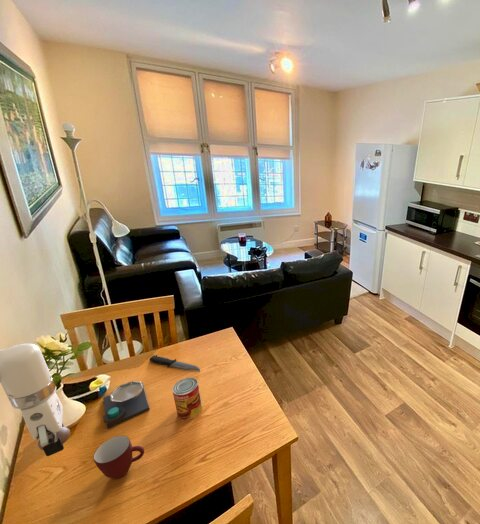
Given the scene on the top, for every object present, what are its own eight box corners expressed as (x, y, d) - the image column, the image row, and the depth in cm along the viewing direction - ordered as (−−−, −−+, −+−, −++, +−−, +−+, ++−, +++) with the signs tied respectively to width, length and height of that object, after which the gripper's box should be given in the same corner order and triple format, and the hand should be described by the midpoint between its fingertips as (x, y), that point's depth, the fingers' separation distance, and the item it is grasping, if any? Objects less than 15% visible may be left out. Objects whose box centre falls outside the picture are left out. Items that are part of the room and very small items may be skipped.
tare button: (109, 419, 97) (108, 415, 96) (108, 413, 98) (107, 410, 98) (119, 415, 98) (118, 411, 98) (119, 409, 100) (117, 405, 100)
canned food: (172, 414, 103) (166, 389, 98) (192, 398, 109) (187, 374, 105) (188, 423, 100) (182, 398, 95) (207, 406, 106) (202, 382, 102)
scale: (106, 430, 96) (104, 424, 94) (102, 400, 106) (100, 394, 105) (150, 410, 103) (148, 404, 102) (143, 384, 114) (141, 379, 113)
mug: (146, 448, 91) (139, 426, 87) (148, 470, 85) (141, 447, 81) (103, 467, 85) (94, 444, 81) (102, 492, 79) (92, 469, 75)
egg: (35, 457, 73) (30, 446, 72) (48, 437, 78) (43, 426, 77) (66, 450, 75) (61, 439, 74) (76, 430, 80) (71, 420, 79)
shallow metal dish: (112, 408, 100) (111, 406, 99) (109, 391, 106) (109, 389, 106) (144, 395, 106) (144, 392, 105) (140, 379, 112) (140, 377, 112)
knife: (205, 364, 124) (197, 373, 119) (205, 367, 124) (197, 375, 120) (155, 353, 128) (146, 360, 124) (156, 356, 129) (147, 363, 124)
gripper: (52, 407, 66) (75, 459, 73) (56, 365, 78) (75, 412, 85) (3, 425, 61) (32, 479, 68) (15, 377, 73) (39, 427, 80)
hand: (56, 441), depth 76 cm, fingers closed on egg, 6 cm apart
